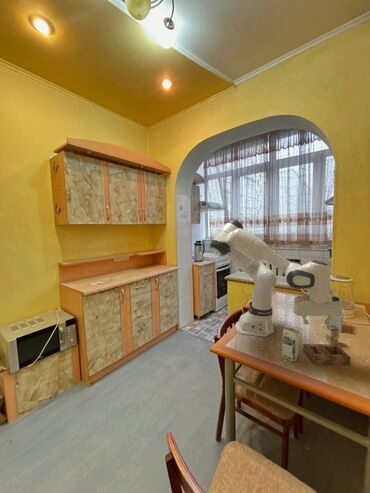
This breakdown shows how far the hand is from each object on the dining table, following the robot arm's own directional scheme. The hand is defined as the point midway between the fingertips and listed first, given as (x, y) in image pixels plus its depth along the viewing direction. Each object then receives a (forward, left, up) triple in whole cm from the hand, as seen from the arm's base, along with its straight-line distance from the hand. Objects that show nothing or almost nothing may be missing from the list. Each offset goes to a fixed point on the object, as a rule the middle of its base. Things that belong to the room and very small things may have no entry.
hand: (316, 323), depth 103 cm
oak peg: (+14, +13, -17) cm, 26 cm away
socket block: (+4, 0, -17) cm, 18 cm away
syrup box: (-12, 0, -17) cm, 21 cm away
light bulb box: (+25, +30, -17) cm, 43 cm away
